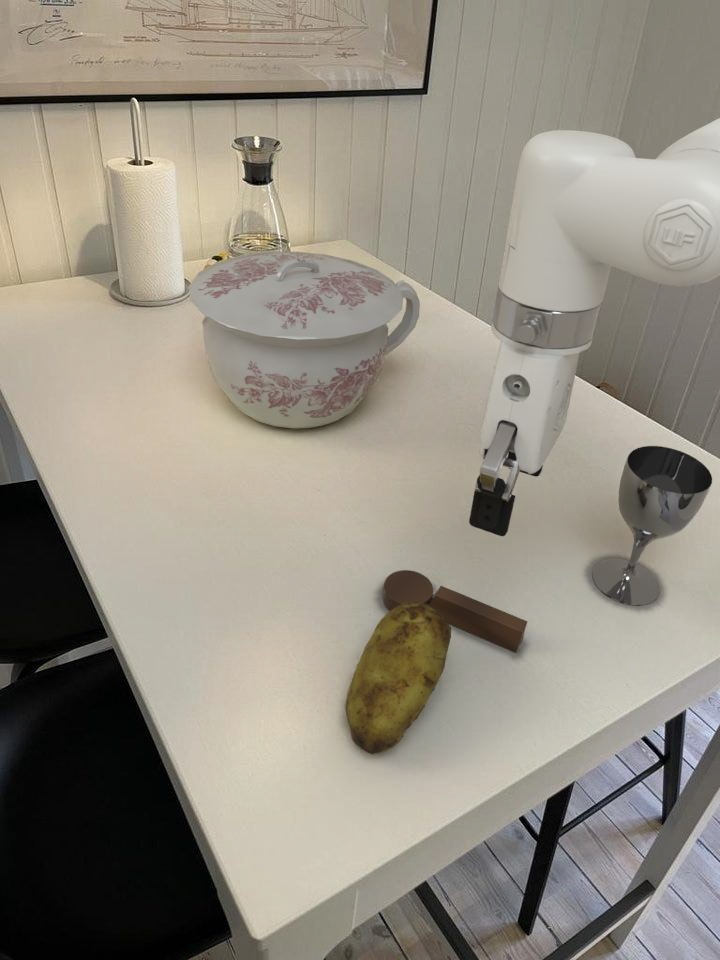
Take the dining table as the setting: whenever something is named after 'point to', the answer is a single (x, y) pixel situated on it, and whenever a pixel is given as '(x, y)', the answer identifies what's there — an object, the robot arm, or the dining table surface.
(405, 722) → the potato
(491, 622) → the wooden spoon
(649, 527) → the wine glass
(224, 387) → the chamber pot
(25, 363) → the dining table surface
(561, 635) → the dining table surface
